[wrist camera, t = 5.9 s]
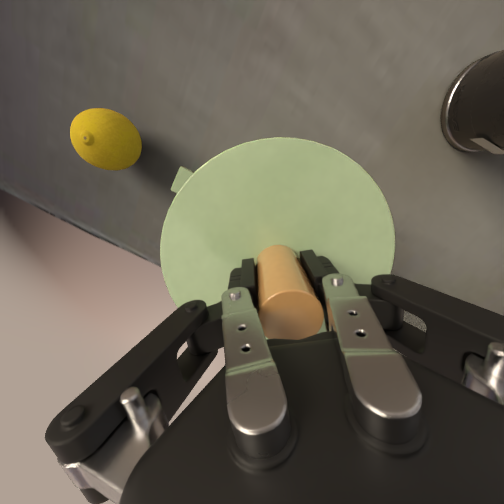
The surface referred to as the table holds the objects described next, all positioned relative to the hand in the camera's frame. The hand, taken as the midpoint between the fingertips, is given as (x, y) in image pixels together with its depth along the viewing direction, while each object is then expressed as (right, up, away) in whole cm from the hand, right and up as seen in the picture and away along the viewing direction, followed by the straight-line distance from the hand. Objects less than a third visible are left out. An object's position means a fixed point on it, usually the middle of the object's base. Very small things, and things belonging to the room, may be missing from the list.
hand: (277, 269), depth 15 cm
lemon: (-16, +14, +13) cm, 25 cm away
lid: (0, 0, +1) cm, 1 cm away
